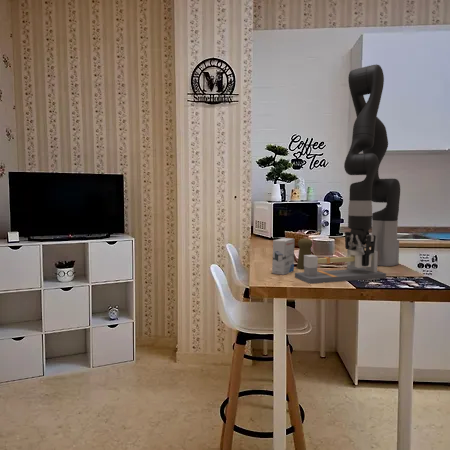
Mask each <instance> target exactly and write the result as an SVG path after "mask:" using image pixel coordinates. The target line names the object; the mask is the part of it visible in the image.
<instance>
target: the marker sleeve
mask: <svg viewBox="0 0 450 450" xmlns="http://www.w3.org/2000/svg"><path fill="white" fill-rule="evenodd" d="M346 250H347V249H346ZM346 252H347V253H346V254H347V255H346V257H353V256H355V261H352V262H346V266H347V265H355V267H357V268H362V267H364V268H366V267H371V254H370V255H369V265H368V266H362V255H363V254H362V251H361V249H358V250H347V251H346Z"/></svg>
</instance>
